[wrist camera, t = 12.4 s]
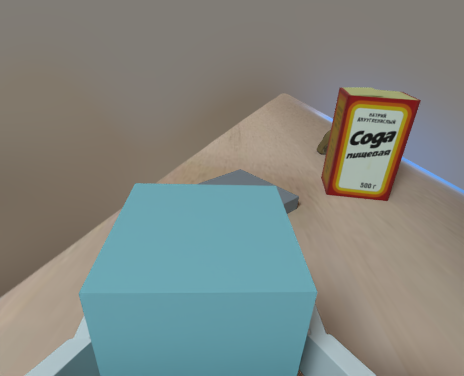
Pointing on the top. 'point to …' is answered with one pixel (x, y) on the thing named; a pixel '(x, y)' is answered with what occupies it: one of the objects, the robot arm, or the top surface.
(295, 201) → the slate tile
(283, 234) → the teal block
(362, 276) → the top surface
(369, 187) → the baking soda box
